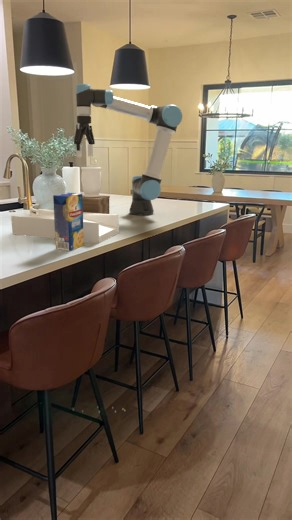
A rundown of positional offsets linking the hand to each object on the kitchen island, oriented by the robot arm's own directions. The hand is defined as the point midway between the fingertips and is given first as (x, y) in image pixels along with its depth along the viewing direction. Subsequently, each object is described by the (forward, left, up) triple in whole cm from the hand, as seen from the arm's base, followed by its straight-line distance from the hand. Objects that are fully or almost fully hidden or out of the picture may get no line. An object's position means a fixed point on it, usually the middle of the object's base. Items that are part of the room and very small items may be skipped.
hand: (85, 156), depth 224 cm
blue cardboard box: (+60, +22, -35) cm, 73 cm away
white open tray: (+38, +8, -35) cm, 52 cm away
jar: (+15, +11, -20) cm, 27 cm away
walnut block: (+16, +11, -35) cm, 40 cm away
